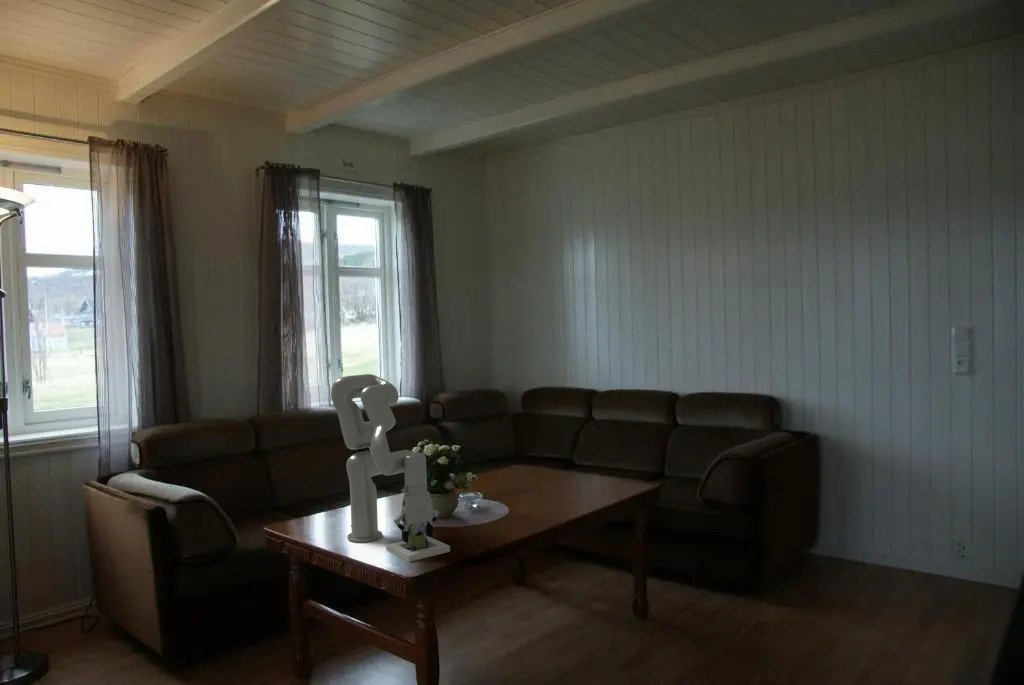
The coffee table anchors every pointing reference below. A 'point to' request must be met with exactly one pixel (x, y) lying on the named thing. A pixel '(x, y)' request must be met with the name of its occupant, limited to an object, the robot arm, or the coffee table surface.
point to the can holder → (402, 552)
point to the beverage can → (417, 536)
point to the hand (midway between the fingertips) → (417, 539)
